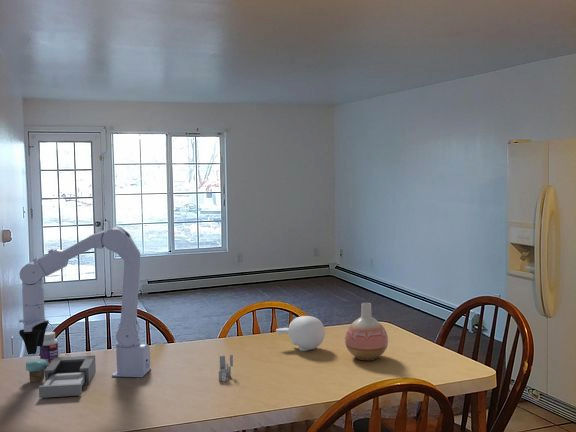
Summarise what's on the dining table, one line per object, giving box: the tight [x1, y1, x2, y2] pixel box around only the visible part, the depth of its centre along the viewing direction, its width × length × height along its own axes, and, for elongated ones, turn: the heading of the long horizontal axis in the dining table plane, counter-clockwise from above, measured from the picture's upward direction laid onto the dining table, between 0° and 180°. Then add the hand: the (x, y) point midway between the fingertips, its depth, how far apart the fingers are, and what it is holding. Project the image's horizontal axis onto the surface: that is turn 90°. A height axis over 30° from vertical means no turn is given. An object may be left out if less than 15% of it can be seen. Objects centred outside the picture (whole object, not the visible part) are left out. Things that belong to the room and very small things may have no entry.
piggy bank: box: [275, 315, 326, 352], centre depth 206 cm, size 12×12×15 cm
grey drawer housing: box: [44, 355, 97, 386], centre depth 179 cm, size 12×12×5 cm
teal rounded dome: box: [25, 358, 48, 372], centre depth 179 cm, size 6×6×2 cm
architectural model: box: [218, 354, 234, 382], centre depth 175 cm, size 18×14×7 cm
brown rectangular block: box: [28, 369, 45, 383], centre depth 179 cm, size 3×3×4 cm
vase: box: [344, 302, 389, 362], centre depth 195 cm, size 14×14×18 cm
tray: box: [38, 372, 86, 399], centre depth 170 cm, size 11×12×3 cm
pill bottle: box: [39, 331, 59, 366], centre depth 194 cm, size 5×5×10 cm
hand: (35, 349), depth 178 cm, fingers open, 7 cm apart
